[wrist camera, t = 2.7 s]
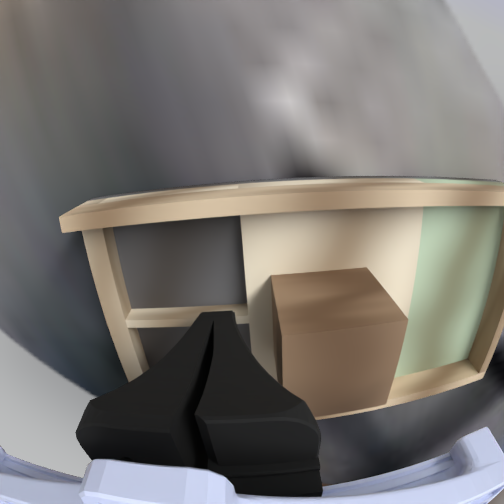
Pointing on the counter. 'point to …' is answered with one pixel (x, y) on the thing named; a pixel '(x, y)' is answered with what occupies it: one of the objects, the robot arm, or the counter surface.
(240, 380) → the robot arm
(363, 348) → the walnut block
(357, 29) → the counter surface
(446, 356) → the tray
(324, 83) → the counter surface
